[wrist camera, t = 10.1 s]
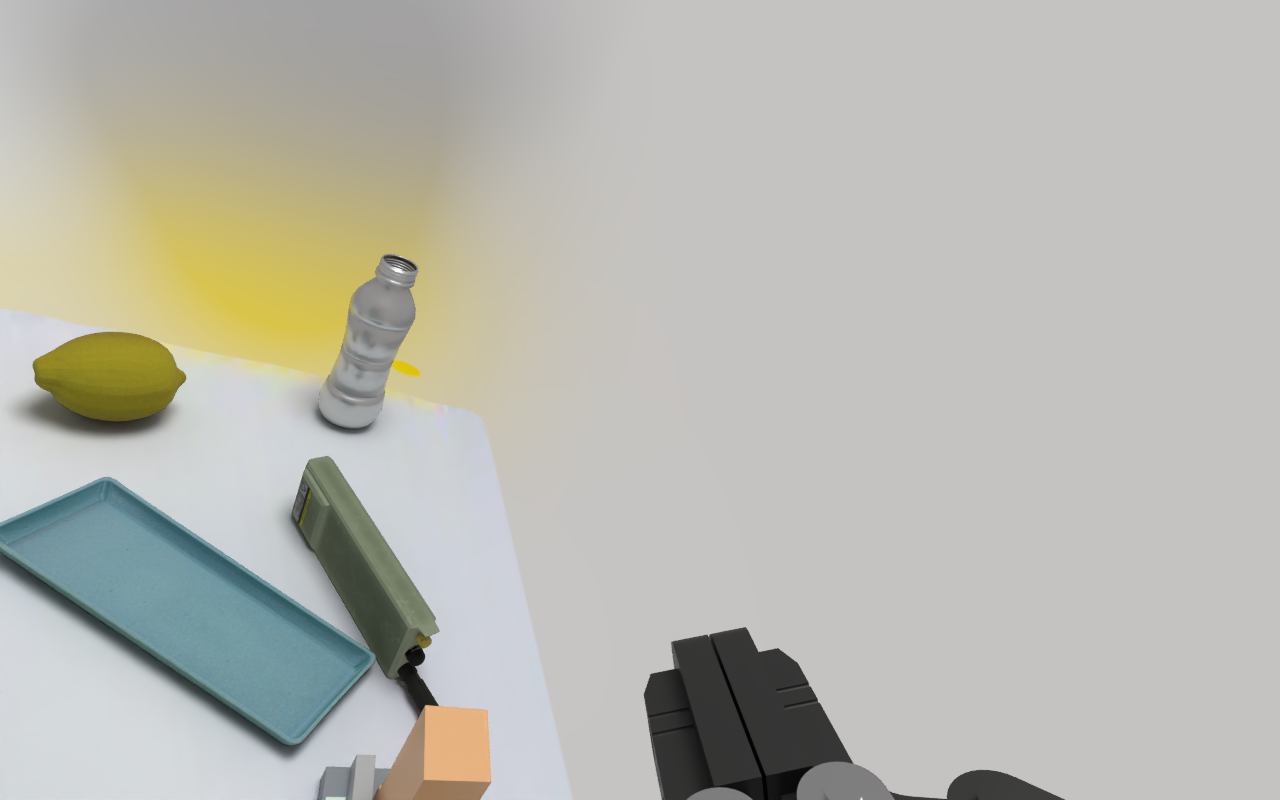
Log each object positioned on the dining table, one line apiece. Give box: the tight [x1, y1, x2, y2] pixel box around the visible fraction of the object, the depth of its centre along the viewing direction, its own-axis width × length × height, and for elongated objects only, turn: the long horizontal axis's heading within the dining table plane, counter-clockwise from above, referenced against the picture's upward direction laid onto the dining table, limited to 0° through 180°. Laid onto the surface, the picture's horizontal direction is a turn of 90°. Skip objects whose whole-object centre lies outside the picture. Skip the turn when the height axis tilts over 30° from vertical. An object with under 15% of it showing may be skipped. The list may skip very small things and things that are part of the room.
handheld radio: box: [292, 456, 439, 712], centre depth 56 cm, size 7×3×25 cm
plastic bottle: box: [319, 254, 418, 429], centre depth 73 cm, size 6×7×20 cm
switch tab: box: [373, 705, 491, 800], centre depth 41 cm, size 5×4×10 cm
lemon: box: [33, 332, 186, 422], centre depth 60 cm, size 11×8×8 cm
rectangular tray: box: [0, 477, 376, 745], centre depth 50 cm, size 26×9×2 cm, turn 73°
